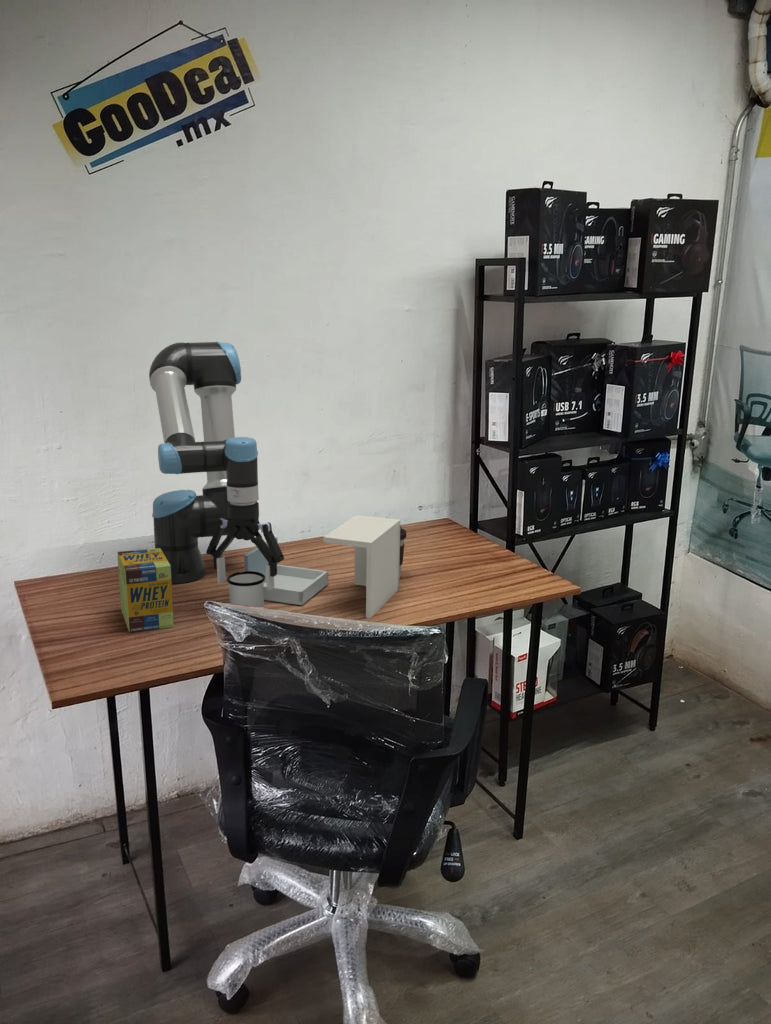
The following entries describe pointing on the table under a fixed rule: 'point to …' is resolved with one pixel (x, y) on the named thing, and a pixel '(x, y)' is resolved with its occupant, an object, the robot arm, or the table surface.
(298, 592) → the tray
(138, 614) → the protein box
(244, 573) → the mug
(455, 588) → the table surface
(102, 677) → the table surface
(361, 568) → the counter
